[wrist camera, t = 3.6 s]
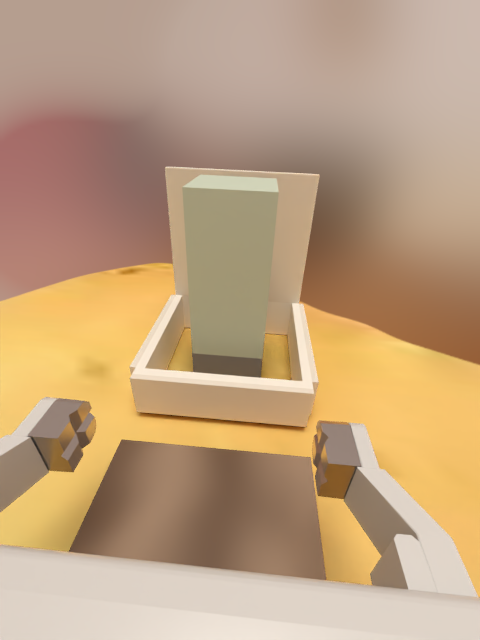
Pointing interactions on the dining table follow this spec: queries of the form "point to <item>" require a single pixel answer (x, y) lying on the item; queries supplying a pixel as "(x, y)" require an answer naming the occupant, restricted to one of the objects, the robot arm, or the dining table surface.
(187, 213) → the sage box
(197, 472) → the walnut board
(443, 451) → the dining table surface
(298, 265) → the white backed tray
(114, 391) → the dining table surface
